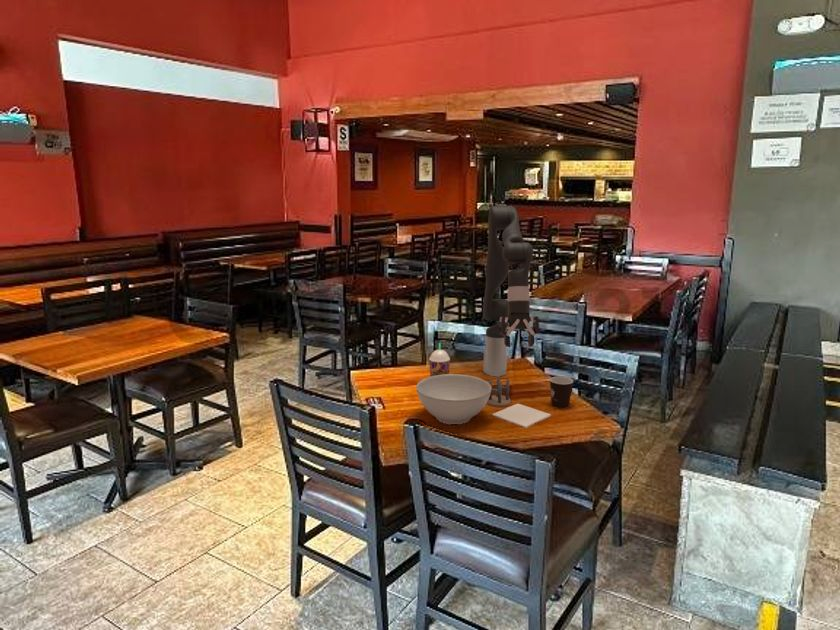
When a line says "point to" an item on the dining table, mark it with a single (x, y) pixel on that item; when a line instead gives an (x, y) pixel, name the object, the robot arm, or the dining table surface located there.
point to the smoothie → (439, 362)
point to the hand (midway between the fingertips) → (519, 346)
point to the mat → (521, 415)
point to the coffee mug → (560, 391)
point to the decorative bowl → (453, 396)
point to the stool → (499, 394)
